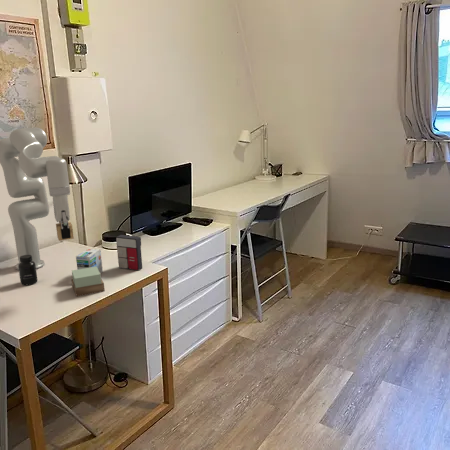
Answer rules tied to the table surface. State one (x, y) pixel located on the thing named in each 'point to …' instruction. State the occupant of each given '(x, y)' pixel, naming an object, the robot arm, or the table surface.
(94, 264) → the light bulb box
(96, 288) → the walnut block
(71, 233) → the oak cube
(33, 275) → the supplement bottle
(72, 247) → the table surface
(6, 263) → the table surface
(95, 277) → the sage block
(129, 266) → the grey red box
